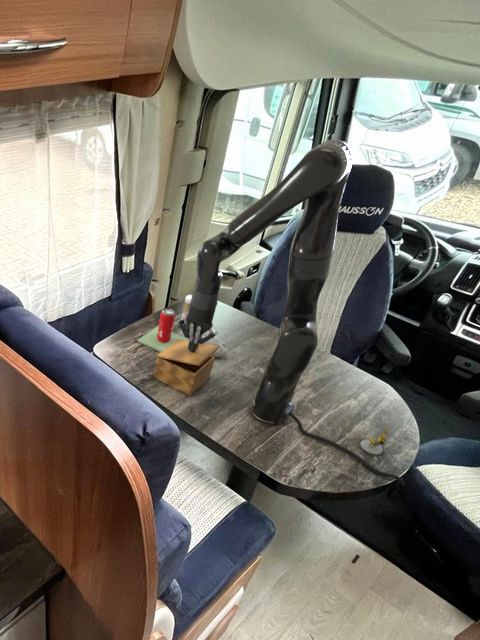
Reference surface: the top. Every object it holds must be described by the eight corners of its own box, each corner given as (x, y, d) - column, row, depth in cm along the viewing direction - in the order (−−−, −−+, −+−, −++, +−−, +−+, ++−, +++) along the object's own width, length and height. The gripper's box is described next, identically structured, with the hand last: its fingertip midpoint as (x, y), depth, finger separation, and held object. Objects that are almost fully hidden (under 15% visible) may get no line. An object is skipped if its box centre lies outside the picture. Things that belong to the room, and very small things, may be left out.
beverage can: (157, 334, 171) (162, 307, 164) (171, 337, 170) (176, 309, 162) (155, 341, 167) (160, 314, 160) (169, 344, 166) (174, 316, 158)
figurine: (378, 457, 124) (391, 437, 119) (356, 446, 127) (369, 426, 122) (385, 448, 127) (399, 428, 122) (364, 437, 130) (377, 417, 125)
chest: (209, 377, 152) (215, 357, 146) (189, 395, 144) (195, 374, 139) (173, 361, 159) (177, 341, 154) (153, 377, 151) (156, 357, 146)
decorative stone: (189, 345, 167) (192, 333, 164) (200, 339, 170) (203, 328, 167) (219, 361, 159) (222, 349, 156) (230, 354, 163) (233, 343, 159)
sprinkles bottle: (179, 329, 176) (185, 299, 168) (179, 323, 179) (186, 293, 171) (191, 331, 175) (198, 300, 167) (191, 325, 179) (198, 295, 170)
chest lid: (219, 348, 144) (219, 346, 143) (199, 365, 136) (199, 363, 136) (178, 340, 154) (178, 338, 153) (157, 356, 146) (156, 354, 146)
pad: (188, 340, 170) (188, 339, 169) (168, 356, 161) (169, 354, 161) (157, 327, 177) (157, 326, 176) (137, 341, 169) (137, 339, 168)
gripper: (177, 300, 134) (168, 347, 145) (217, 315, 127) (204, 364, 138) (190, 291, 138) (180, 338, 149) (229, 306, 131) (216, 354, 142)
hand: (192, 350), depth 143 cm, fingers closed
